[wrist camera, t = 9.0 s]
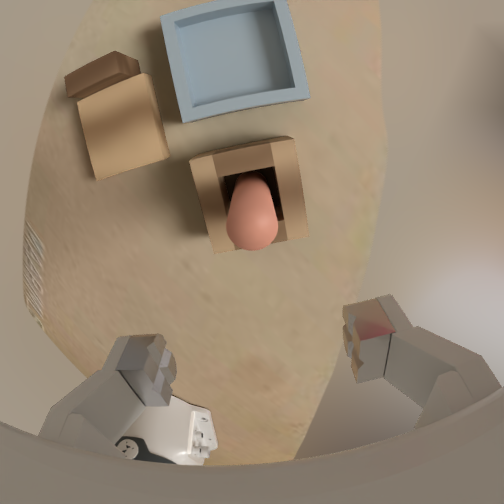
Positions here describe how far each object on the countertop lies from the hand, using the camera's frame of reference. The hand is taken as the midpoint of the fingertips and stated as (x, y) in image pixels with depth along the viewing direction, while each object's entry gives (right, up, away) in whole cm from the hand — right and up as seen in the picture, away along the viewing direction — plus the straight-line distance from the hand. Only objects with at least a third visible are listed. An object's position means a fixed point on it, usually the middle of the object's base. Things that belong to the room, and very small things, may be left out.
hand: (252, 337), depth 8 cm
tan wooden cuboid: (-12, +14, +15) cm, 24 cm away
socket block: (0, +8, +17) cm, 19 cm away
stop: (-13, +19, +12) cm, 25 cm away
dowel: (0, +8, +17) cm, 19 cm away
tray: (-1, +19, +12) cm, 23 cm away
